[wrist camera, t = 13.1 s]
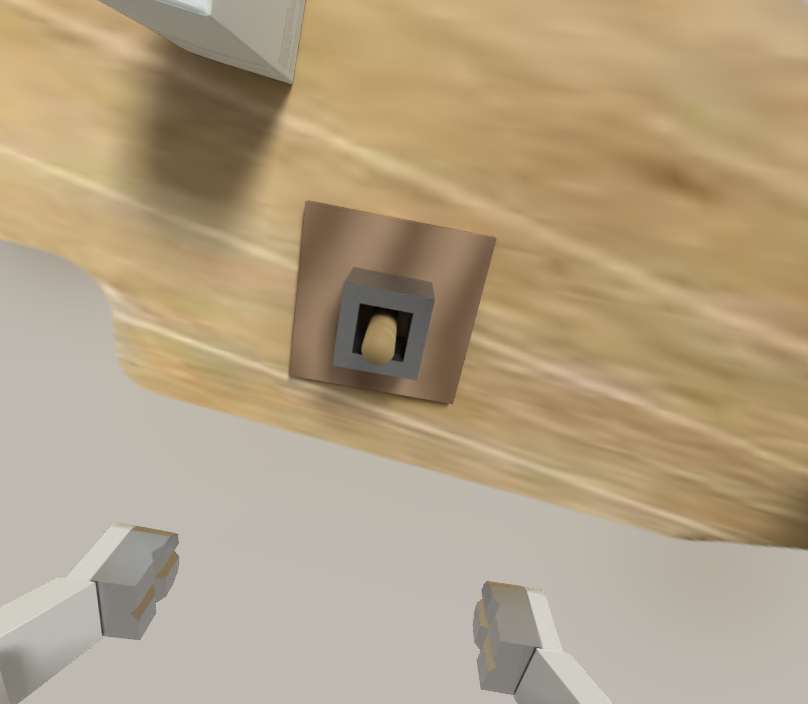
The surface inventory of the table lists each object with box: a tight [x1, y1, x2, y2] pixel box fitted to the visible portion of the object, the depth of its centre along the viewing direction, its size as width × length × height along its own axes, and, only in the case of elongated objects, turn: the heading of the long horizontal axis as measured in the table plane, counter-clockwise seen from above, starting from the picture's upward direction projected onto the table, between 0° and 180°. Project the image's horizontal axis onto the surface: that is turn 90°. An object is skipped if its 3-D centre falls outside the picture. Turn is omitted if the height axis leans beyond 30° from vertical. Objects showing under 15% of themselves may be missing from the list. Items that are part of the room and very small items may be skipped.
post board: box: [290, 201, 496, 404], centre depth 30 cm, size 14×14×9 cm
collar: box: [333, 267, 435, 381], centre depth 31 cm, size 6×6×5 cm
